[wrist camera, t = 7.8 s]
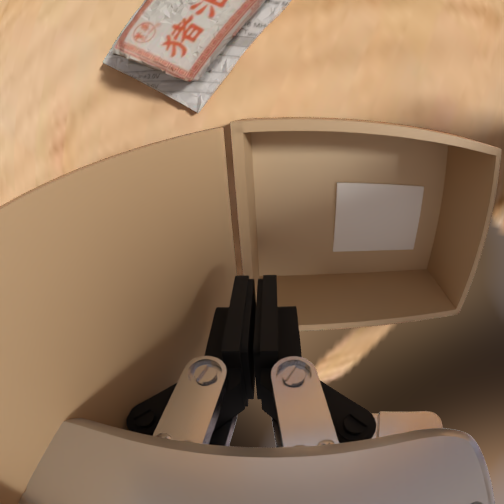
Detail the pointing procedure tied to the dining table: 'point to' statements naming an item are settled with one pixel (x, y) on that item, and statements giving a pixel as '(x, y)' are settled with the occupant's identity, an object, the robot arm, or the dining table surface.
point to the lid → (108, 290)
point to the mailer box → (362, 216)
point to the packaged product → (189, 44)
